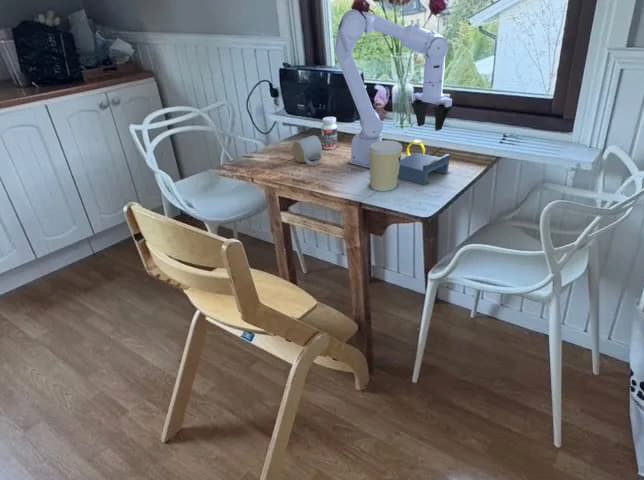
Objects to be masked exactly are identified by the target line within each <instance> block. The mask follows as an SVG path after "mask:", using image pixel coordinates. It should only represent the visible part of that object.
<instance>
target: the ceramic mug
mask: <svg viewBox="0 0 644 480" xmlns="http://www.w3.org/2000/svg"><path fill="white" fill-rule="evenodd" d="M291 149H292V155H293V158H294V160H295V161H296V163H297V162H298V163H301V164H302V163H306V164H307V165H309V166H312V167H315V166H318V165H320V164H321V163H322V154H323V148H322V146H321V139H319V137H318V136H317V135H314V134H313V135H309V136H307V137H305V138H302V139H298V140H296V141H295V142H294V143H293V144H292V148H291ZM318 159H319V160H318ZM313 160H317V161H313Z"/></svg>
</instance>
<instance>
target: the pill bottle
mask: <svg viewBox="0 0 644 480" xmlns="http://www.w3.org/2000/svg"><path fill="white" fill-rule="evenodd" d="M336 122H337V117H335V116H325V117H323V118H322V124H321V125H320V130H321V132H320V142H321V146H322V149H324V150H332V149H335V148H337V146H338V125H337V124H336Z"/></svg>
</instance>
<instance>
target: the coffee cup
mask: <svg viewBox="0 0 644 480" xmlns="http://www.w3.org/2000/svg"><path fill="white" fill-rule="evenodd" d="M369 151H370V168H369V181H370V183H369V184H370V188H371V189H373V190H374V191H379V192H380V191H381V192H385V191H392V190H394V189H396V188H397V186H398V180H399V178H398V173H399V167H400V160H401V159H402V151H403V145H402V143H401V142H399V141H395V140H382V141H378V142H375V143H373V144H371V145H370V148H369Z"/></svg>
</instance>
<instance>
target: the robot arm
mask: <svg viewBox="0 0 644 480" xmlns="http://www.w3.org/2000/svg"><path fill="white" fill-rule="evenodd" d="M373 32H378V33H380V34H383V35H386V36H389V37H392V38H394V39H397V40H399V41H400V44H401V46H402V47H404V48H407V49H409V50H411V51H414V52H416V53H420V54H425V60H424V62H425V63H424V65H423V66H424V68H423V83H422V92H415V93H412V101H414V102H412V103H411V107H412V109H413V111H414V114H415V117H416V123H417V126H418V127H421V126H424V125H425V122H426V114H427V111H428V106H429V104H433V105H437V106H434V107H433V108H432V109H433V113H434V130H435V131H436V132H437V131H441V130H442V129H443V127H444V124H445V122H446V118H447V117H448V114H449V112H450V111H451V109H452V107H453V98H450V97H447V96H445V95H444V93H443V86H444V78H445V77H444V76H445V75H444V74H445V68H446V67H445V66H446V63H445V60H446V56H447V54H448V52H449V49H450V46H449V42H448V40H447V38H445V37H444V36H443V35H441V34H439V33H438V32H436V31H435V30H433V29H431V30H428V29H425V28H422V27H421V24H419V23H417V22H416V23H415V24H412V23H410V24H408V25H407V26H403V25H401V24H398V23H397V22H393V21H391V20H388V19H386V18H384V17H381V16H379V15H377V14H374V13H370V12H367V11H361V12H360V11H359V10H357V9H349V10H347V11H346V12H344V14H343V15H342V17H341V19H340V22H339V23H338V27H337V33H336V34H337V35H336V39H335V47H334V54H335V57H336V59H337V62H338V65H339V67H340V69H341V72H342V75H343V77H344V79H345V83H346V85H347V87H348V89H349V92H350V94H351V97H352V100H353V102H354V105H355V107H356V109H357V112H358V115H359V124H360V127H361V131H360V132H359V133H356V134H354V136H353V137H352V140H351V146H350V147H351V148H350V149H351V150H350V161H349V164H352V165H355V166H359V167H364V168H366V169H367V168H368V169H370V151H369V148H370V145H371V144H373V143H375V142H378V141H383V129H384V124H383V121H382V120H381V118H380V115H379V112H377V111H376V110H375V108H374V107H373V105H372V102H371V99H370V96H369V94H368V92H367V88H366V86H365V84H364V80H363V78H362V76H361V73H360V70H359V68H358V66H357V63H356V60H355V58H354V55H353V51H354V49H355V47H356V44H357V42H358V41H359V39H360V38H361V37H362V36H363V34H364V33H365V34H366V35H368V34H371V33H373Z"/></svg>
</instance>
